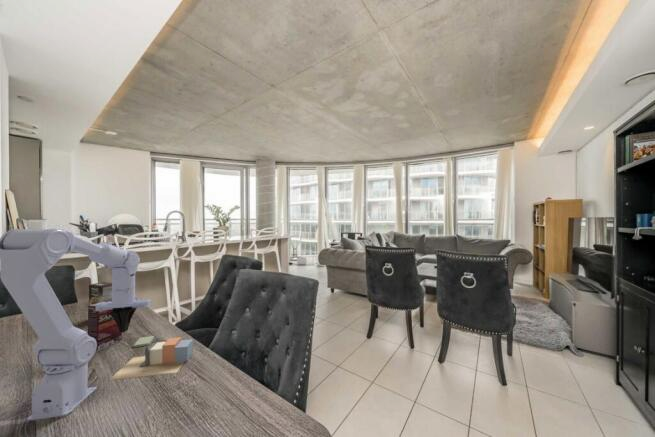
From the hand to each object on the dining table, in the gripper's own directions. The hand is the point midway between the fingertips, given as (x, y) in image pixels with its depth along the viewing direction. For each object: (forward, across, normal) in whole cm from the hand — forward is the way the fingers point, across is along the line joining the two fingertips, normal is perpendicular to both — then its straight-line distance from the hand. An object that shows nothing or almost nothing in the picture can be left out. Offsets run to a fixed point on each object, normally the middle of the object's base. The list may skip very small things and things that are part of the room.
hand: (123, 331), depth 79 cm
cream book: (+9, -11, +2) cm, 15 cm away
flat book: (+10, 0, -12) cm, 16 cm away
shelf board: (+10, -11, +4) cm, 15 cm away
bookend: (+9, -8, +2) cm, 13 cm away
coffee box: (+10, +33, -44) cm, 56 cm away
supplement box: (+10, +13, -13) cm, 21 cm away
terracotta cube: (+9, -15, +2) cm, 18 cm away
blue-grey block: (+9, -18, +2) cm, 21 cm away
